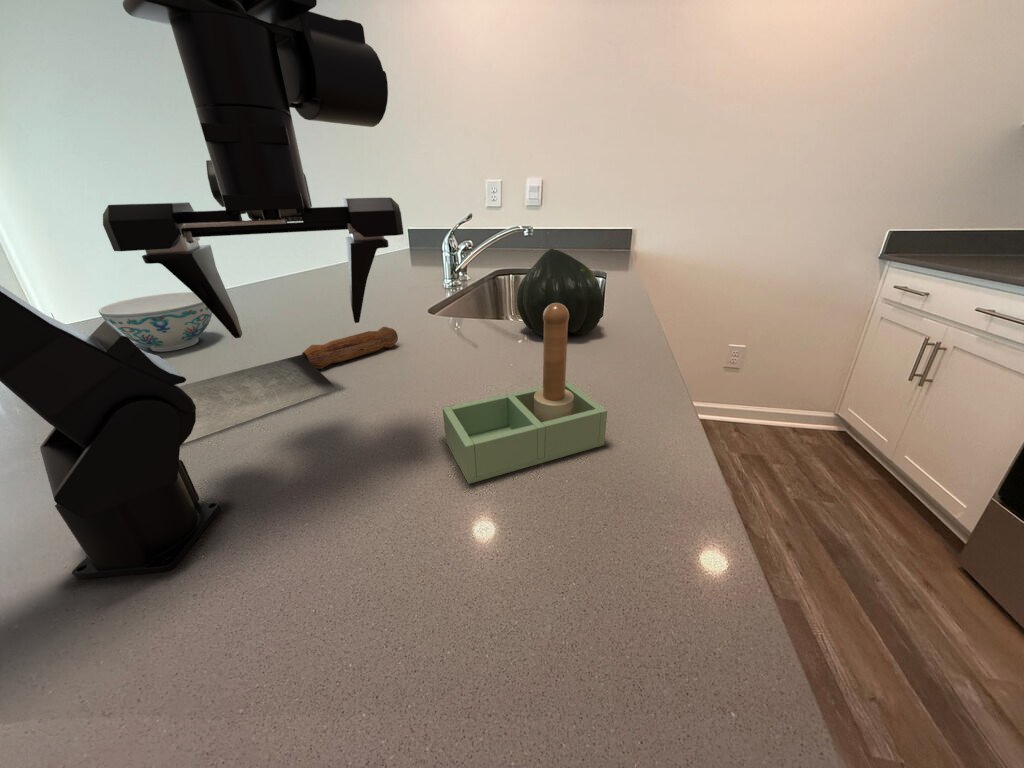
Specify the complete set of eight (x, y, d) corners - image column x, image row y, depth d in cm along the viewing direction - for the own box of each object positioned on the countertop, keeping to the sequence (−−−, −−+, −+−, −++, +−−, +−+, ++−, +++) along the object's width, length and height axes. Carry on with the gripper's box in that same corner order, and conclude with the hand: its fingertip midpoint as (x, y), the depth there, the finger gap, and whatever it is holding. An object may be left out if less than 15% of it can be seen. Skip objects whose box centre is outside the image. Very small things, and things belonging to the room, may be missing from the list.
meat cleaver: (163, 451, 42) (147, 417, 40) (142, 415, 49) (129, 385, 47) (428, 360, 64) (426, 336, 62) (389, 344, 71) (385, 322, 69)
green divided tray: (468, 484, 36) (465, 446, 34) (445, 441, 42) (442, 407, 40) (604, 445, 41) (607, 410, 39) (566, 411, 47) (567, 380, 46)
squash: (607, 317, 62) (604, 234, 67) (510, 320, 64) (513, 239, 68) (600, 351, 76) (597, 279, 80) (520, 352, 78) (522, 282, 82)
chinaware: (148, 366, 63) (126, 318, 59) (101, 352, 69) (80, 308, 65) (243, 337, 75) (230, 296, 71) (196, 328, 81) (182, 289, 78)
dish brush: (570, 442, 40) (576, 310, 35) (530, 438, 41) (530, 308, 35) (573, 422, 44) (580, 298, 38) (537, 418, 45) (538, 297, 39)
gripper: (372, 132, 38) (395, 297, 45) (123, 125, 32) (195, 319, 38) (389, 112, 29) (416, 323, 36) (43, 96, 22) (155, 359, 29)
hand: (300, 328), depth 35 cm, fingers open, 9 cm apart
